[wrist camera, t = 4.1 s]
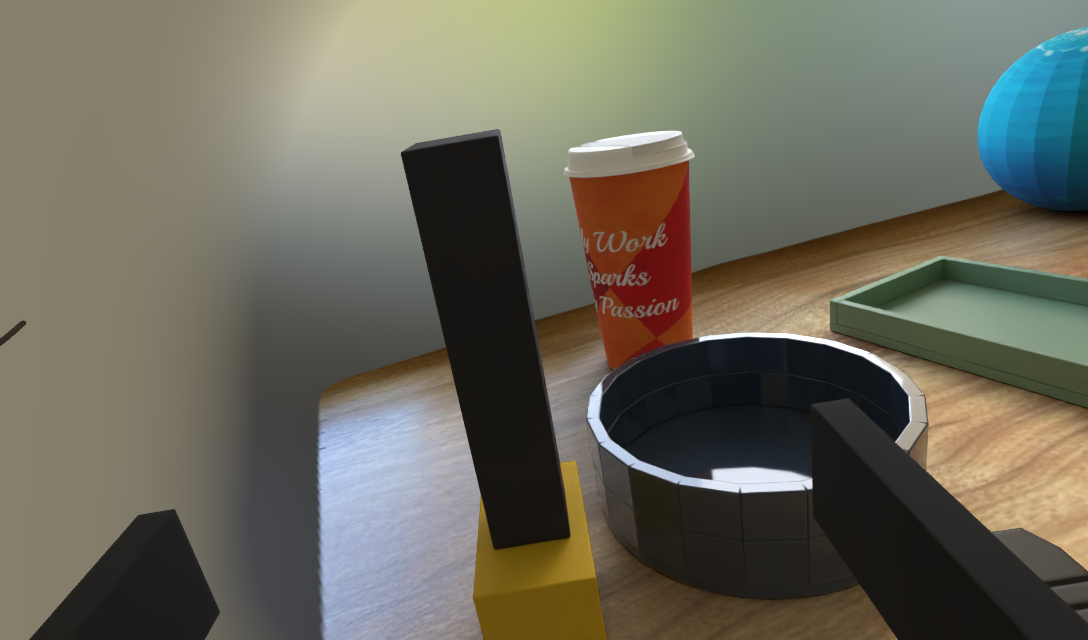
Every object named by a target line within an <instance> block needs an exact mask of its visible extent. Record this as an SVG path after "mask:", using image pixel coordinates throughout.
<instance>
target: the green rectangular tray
mask: <svg viewBox="0 0 1088 640" xmlns="http://www.w3.org/2000/svg"><path fill="white" fill-rule="evenodd" d="M830 330H831V331H835V332H838V333H841V334H844V335H848V336H851V337H854V338H858V339H861V340H864V341H868V342H871V343H874V344H878V345H881V346H884V347H887V348H891V349H894V350H897V351H901V352H904V353H907V354H911V355H914V356H917V357H921V358H924V359H927V360H930V361H934V362H937V363H940V364H944V365H947V366H950V367H954V368H957V369H960V370H964V371H967V372H970V373H973V374H977V375H980V376H983V377H987V378H990V379H993V380H997V381H1000V382H1003V383H1007V384H1010V385H1013V386H1017V387H1020V388H1023V389H1026V390H1030V391H1033V392H1036V393H1040V394H1043V395H1046V396H1050V397H1053V398H1056V399H1060V400H1063V401H1066V402H1069V403H1073V404H1076V405H1079V406H1083V407H1086V408H1088V278H1081V277H1075V276H1069V275H1062V274H1056V273H1049V272H1043V271H1037V270H1030V269H1024V268H1017V267H1011V266H1005V265H998V264H992V263H985V262H979V261H972V260H966V259H960V258H953V257H947V256H938V257H936V258H933V259H931V260H928V261H926V262H923V263H921V264H918V265H916V266H914V267H911V268H909V269H906V270H904V271H901V272H899V273H896V274H894V275H891V276H889V277H886V278H884V279H882V280H879V281H877V282H874V283H872V284H869V285H867V286H864V287H862V288H859V289H857V290H854V291H852V292H850V293H847V294H845V295H842V296H840V297H837V298H835V299H832V300H830Z"/></svg>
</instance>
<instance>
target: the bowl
mask: <svg viewBox="0 0 1088 640" xmlns="http://www.w3.org/2000/svg"><path fill="white" fill-rule="evenodd" d="M848 398H849V399H850V400H851V401H852V402H853V403H854V404H855V405H856V406H857V407H858V408H859V409H860V410H861V411H862V412H864V413H865V414H866V415H867V416H868V417H869V418H870V419H871V420H872V421H873V422H874V423H875V424H876V425H877V426H878V427H880V428H881V429H882V430H883V431H884V432H885V433H886V434H887V435H888V436H889V437H890V438H891V439H892V440H893V441H894V442H896V443H897V444H898V445H899V446H900V447H901V448H902V449H903V450H904V451H905V452H906V453H907V454H908V455H909V456H910V457H912V458H913V459H914V460H915V461H916V462H917V463H918V464H919V465H920V466H921V467H922V468H923V469H924V470H925V471H926V461H927V443H928V425H929V424H928V414H927V404H926V397H925V395H924V394H923V392H922V391H921V390H920V389H919V388H918V386H917V385H916V384H915V383H914V382H913V381H912V379H911V378H910V377H909V376H908V375H907V374H906V372H904V371H903V370H901V369H899V368H897V367H896V366H894V365H892V364H890V363H889V362H887V361H885V360H883V359H882V358H880V357H878V356H876V355H875V354H872V353H870V352H867V351H864V350H861V349H858V348H855V347H852V346H848V345H845V344H842V343H839V342H836V341H832V340H826V339H820V338H813V337H807V336H801V335H794V334H779V333H735V334H724V335H713V336H705V337H699V338H695V339H690V340H686V341H681V342H677V343H672V344H668V345H664V346H662V347H659V348H657V349H654V350H651V351H649V352H646V353H644V354H641V355H639V356H636V357H633V358H632V359H630V360H629V361H627V362H626V363H624V364H623V365H621V366H620V367H618V368H617V369H615V370H613V371H612V372H610V373H609V374H607V375H606V376H605V377H604V379H603V380H602V381H601V383H600V384H599V385H598V386H597V388H596V389H595V390H594V391H593V393H592V394H591V395H590V398H589V405H588V411H587V417H586V422H587V428H588V434H589V441H590V447H591V453H592V460H593V466H594V472H595V479H596V485H597V491H598V496H599V498H600V501H601V505H602V510H603V514H604V516H605V519H606V521H607V524H608V526H609V527H610V529H611V531H612V532H613V534H614V535H615V537H616V538H617V539H618V540H619V541H620V543H621V544H622V545H623V546H624V547H625V548H626V549H627V550H628V551H629V552H630V553H632V554H633V555H634V556H635V557H636V558H638V559H639V560H640V561H641V562H643V563H645V564H646V565H648V566H649V567H651V568H652V569H654V570H656V571H657V572H659V573H661V574H664V575H666V576H668V577H670V578H672V579H674V580H676V581H679V582H682V583H684V584H687V585H690V586H693V587H696V588H699V589H703V590H707V591H711V592H715V593H719V594H724V595H730V596H737V597H744V598H758V599H791V598H803V597H810V596H817V595H824V594H827V593H831V592H835V591H839V590H843V589H847V588H849V587H852V586H854V585H857V584H859V583H858V581H857V580H856V578H855V577H854V575H853V574H852V572H851V571H850V570H849V568H848V567H847V565H846V564H845V562H844V561H843V559H842V558H841V557H840V555H839V554H838V552H837V551H836V549H835V548H834V546H833V545H832V543H831V542H830V541H829V539H828V538H827V536H826V535H825V533H824V532H823V530H822V529H821V528H820V526H819V525H818V523H817V522H816V520H815V519H814V517H813V502H812V444H811V405H812V404H818V403H824V402H830V401H836V400H842V399H848Z"/></svg>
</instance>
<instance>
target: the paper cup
mask: <svg viewBox="0 0 1088 640" xmlns="http://www.w3.org/2000/svg"><path fill="white" fill-rule="evenodd" d="M694 157H695V155H694V153H693V152H692V150H691V149H688V148H687V141H685V140H684V138H683V136H682V133H681V132H680V131H659V132H648V133H640V134H632V135H626V136H619V137H613V138H608V139H603V140H598V141H594V143H592V142H589V143H586V144H583V145H580V146H578V147H576V148H571V149H569V151H568V167H566V168H565V169H564V172H563V173H564V175H565V176H568V177H570V183H571V187H572V193H573V197H574V202H575V207H576V212H577V217H578V222H579V227H580V232H581V237H582V242H583V247H584V252H585V257H586V262H587V267H588V272H589V277H590V281H591V287H592V291H593V296H594V301H595V306H596V311H597V316H598V321H599V325H600V330H601V335H602V339H603V344H604V348H605V353H606V357H607V360H608V363H609V365H610V367H611V368H612V369H614V370H615V369H617V368H618V367H620V366H621V365H623V364H624V363H626V362H627V361H629V360H630V359H632V358H633V357H636V356H639V355H641V354H644V353H646V352H649V351H651V350H654V349H657V348H659V347H662V346H664V345H668V344H672V343H677V342H681V341H686V340H690V339H692V280H691V241H690V240H691V237H690V196H689V160H690V159H692V158H694Z"/></svg>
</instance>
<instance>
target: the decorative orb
mask: <svg viewBox="0 0 1088 640" xmlns="http://www.w3.org/2000/svg"><path fill="white" fill-rule="evenodd" d="M978 147H979V152H980V157H981V159H982V162H983V164H984V166H985V169H986V170H987V172H988V173H989V175H990V176H991V178H992V179H993V180H994V181H995V182H996V183H997V184H998V185H999V186H1000V187H1001V188H1002V189H1003V190H1005V191H1006V192H1008V193H1009V194H1011V195H1012V196H1014V197H1016V198H1018V199H1019V200H1022V201H1024V202H1026V203H1028V204H1030V205H1034V206H1038V207H1042V208H1046V209H1050V210H1058V211H1085V210H1088V27H1085V28H1079V29H1076V30H1073V31H1070V32H1067V33H1064V34H1061V35H1058V36H1056V37H1054V38H1052V39H1050V40H1048V41H1045V42H1043V43H1042V44H1040V45H1038V46H1037V47H1035V48H1033V49H1032V50H1030V51H1029V52H1027V53H1026V54H1025V55H1023V56H1022V57H1021V58H1020V59H1018V60H1017V61H1016V62H1015V63H1013V64H1012V65H1011V67H1010V68H1009V69H1008V70H1007V71H1006V72H1005V73H1004V74H1003V75H1002V76H1001V78H1000V79H999V80H998V82H997V83H996V84H995V86H994V87H993V89H992V90H991V92H990V94H989V96H988V98H987V100H986V102H985V105H984V108H983V111H982V114H981V117H980V121H979V127H978Z"/></svg>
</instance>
